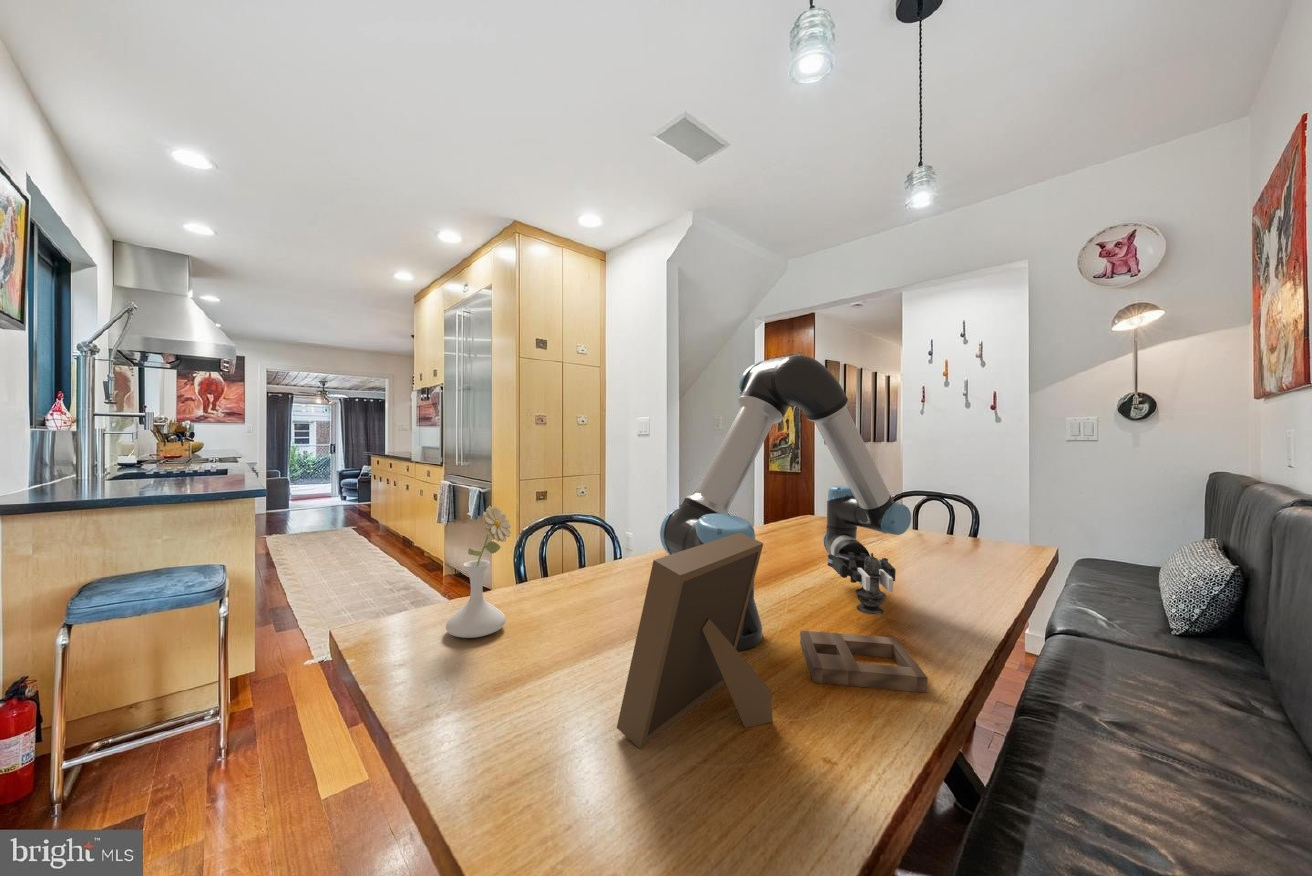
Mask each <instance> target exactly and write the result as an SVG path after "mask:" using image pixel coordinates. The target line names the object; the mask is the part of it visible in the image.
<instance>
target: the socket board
mask: <svg viewBox="0 0 1312 876" xmlns="http://www.w3.org/2000/svg"><path fill="white" fill-rule="evenodd" d="M799 634H800V636H799V637H800V638H799V644H800V647H801V650H802V654H803V656H804V659H805V660H804V661H805V663H806V666H807V668H808V672H809V674H810V677H811V680H812V683H817V684H827V685H837V686H838V685H839V686H847V687H849V686H851V687H860V688H861V687H862V688H872V689H881V690H882V689H883V690H893V691H906V692H913V693H914V692H915V693H926V694H927V693H928V676H927V675H926V674H925V672H924V671H923V669H922V668H920V666H919V665H918V664H917V662H916V661H915V660H914V658H913V657H912V656H911V655H910V653H909V652H908V650H906V648H905V647H904V646H903V644H902V643H901V642H900V641H899V639H898V638H897V637H890V636H879V635H876V636H875V635H865V634H864V635H863V634H851V633H838V632H827V631H826V632H823V631H814V630H813V631H812V630H811V631H810V630H800V633H799ZM854 655H856V656H868V657H881V658H891V659H893V660H894V662H895V663H896V664H897V665H891V664H889V665H888V664H878V663H877V664H876V663H867V662H866V663H865V662H857V661H856V659H855V657H854Z"/></svg>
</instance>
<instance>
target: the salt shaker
mask: <svg viewBox="0 0 1312 876" xmlns="http://www.w3.org/2000/svg"><path fill="white" fill-rule="evenodd" d="M869 554H870V557H867V558H866V559H865V560H864V571H865V572H866V573H867V574H868V575H869V576H870V591H867V590H865V589H864V588H863V587H862V586H861V587H860V588H856V589H855V593H856V597H857V600H858V601H859V603H860V604H858V605H857V606H856V609H857V611H860V613H861V612H862V613H864V614H867V615H875V616H877V615H883V614H885V611H884V609H883V608H882V607H880V606H881V605H883V604H884V602H885V598H886V597H887V594H886V593H885V592H883V591H881V589H880V583H879V578H880V577H881V575H879V559H878V558H877V557H875V556H874V553H873V552H870V553H869Z"/></svg>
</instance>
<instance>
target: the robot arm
mask: <svg viewBox="0 0 1312 876" xmlns="http://www.w3.org/2000/svg"><path fill="white" fill-rule="evenodd" d="M738 388H739V395H740V396H739V397H738V399H737V400H738V401H737V402H738V404H739V410H738V412H737V415H736V417H734V418H735V419H734V420H733V422H732V424H731V426H730V428H729V429H728V431H727V433H726V435H725V436H724V439H723V440H722V442H721V444H720V446H719V447H718V450H717V451H716V454H715V455H714V457H713V459H712V461H711V462H710V465H709V467H708V468H707V470H706V472H705V474H704V475H703V478H702V479H701V482H700V483H699V485H698V487H697V489H696V491H695V493H693V494H690V495H686V496H685V497H684V499H683V501H682V503H681V504H680V507H679V508H677V509H674V510H671V511H670V512H669V513H668V514H667V515H665V517H664V519H663V520H662V522H661V526H660V530H659V535H660V536H659V537H660V542H661V545H662V548H663V549H664V551H665V552H666V553H667V554H668V555H671V554H674V553H677V552H680V551H683V550H687V549H690V548H693V547H696V546H699V545H702V544H705V543H708V542H712V541H715V540H718V539H721V538H724V537H727V536H730V535H733V534H737V533H742V534H744V535H746V536H749V537H751V538H753V539H755V540H756V534H755V528H754V526H753V524H752V523H751V522H749V521H748V520H746V519H745V518H743V517H741V516H740V517H739V516H737V515H730V514H729V510H730V508H731V506H732V504H733V502H734V500H735V499H736V497H737V494H738V492H739V491H740V489H741V486H742V484H743V483H744V481H745V479H746V477H747V475H748V473H749V471H750V469H751V467H752V465H753V464H754V461H755V460H756V457H757V456H758V454H759V451H760V449H761V447H762V446H763V443H764V442H765V440H766V438H767V436H768V434H769V433H770V430H771V429H772V427H773V425H776V424H779V423H781V422H782V421H783V419H784V418H785V415H786V413H787V412H788V409H789V408H790V407H791V408H794V407H796V408H798V409H800V410H801V411H802V412H803V414H804V415H805V417H806V420H808V421H810V422H814V424H815V426H816V428H817V429H818V432H819V433H820V436H821V437H822V439H823V441H824V442H825V445H826V446H827V450H829V452H830V454H831V456H832V457H833V460H834V462H835V463H836V465H837V468H838V469H839V471H840V473H841V476H842V478H844V481H845V482H846V485H832V486H830V487H829V488H828V491H827V493H828V494H827V500H826V529H825V530H826V532H825V533H824V535H823V537H822V538H823V539H822V542H823V547H824V548H825V551H826V552H827V553H828V554H827V566H828V567H830V568H832V569H833V570H834V571H835V572H836V573H837V574H838V575H839V576H840V578H844V579H845V578H846V579H847V578H848V577H849V578H850V581H849V582H850V583H853V584H854V583H857V582H858V584H860V586H861V588H862V587H863V588H864V589H865V590H867V591H870V576H869V575H868V574H867V573H866V572H865V571H864V560H865V559H866V558H867V557H870V556H871V555H870V554H871V553H870V552H869V551H868V549H867V548H866V547H865V546H864V545H863V544H862V543H861V542H860V541H859V540H857V533H858V532H857V530H858V527H859V528H860V527H861V528H864V529H868V530H872V531H876V532H880V533H881V534H882V533H883V534H886V535H887V534H888V535H896V536H901V535H903V534H904V533H906V532H907V530H909V528H910V527H911V526H910V525H911V523H912V513H911V510H910V508H909V507H908V506H907V505H905V504H903V503H900V502H895V501H894V500H893V497H892V496H891V494H890V491H889V489H888V488H887V485H886V483H885V482H884V479H883V478H882V476H881V473H880V472H879V469H878V467H877V465H876V463H875V462H874V460H873V458H872V456H871V453H870V451H869V449H868V447H867V445H866V443H865V441H864V439H863V437H862V436H861V433H860V431H859V430H858V427H857V425H856V424H855V421H854V420H853V418H852V416H851V413H850V412H849V409H848V408H847V407H848V404H849V399H848V397H847V395H846V392H845V391H844V389H843V386H841V384H840V382H839V380H837V378H836V377H835V376H834V375H833V373H832V372H831V371H830V370H829V369H828V368H827V367H826V366H825V365H823V363H821V362H820V361H818V360H816V359H814V358H813V357H811V356H807V355H802V354H795V355H789V356H787V357H786V356H785V357H780V358H775V359H774V358H773V359H765V360H761V361H759V362H757V363H754V364H752V365H751V366H749V367H748V368H746V370H745V371H744V372H743V374H742V375H741V378H740V381H739V387H738ZM878 560H879V575H881V577H880V578H879V585H881V586H882V587H883V588H884V589H885V590H886V591H887V592H888V593H894V589H893V588H894V582H896V574H897V573H896V568H894V566H893V565H892V564H891V563H890V562H889V559H888V558H886V557H883V558H879V559H878ZM760 618H761V617H760V615H759V611H758V608H757V605H756V601H755V581H754V582H753V586H752V589H751V593H750V597H749V601H748V605H747V608H746V612H745V616H744V620H743V624H742V627H741V631H740V635H739V639H738V643H737V647H736V650H737V651H738V652H739V651H745V650H749V649H752V648H755V647H757V646H758V645H759V644H761V642H762V640H763V624H762V621H761V619H760Z"/></svg>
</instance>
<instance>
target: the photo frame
mask: <svg viewBox="0 0 1312 876" xmlns="http://www.w3.org/2000/svg"><path fill="white" fill-rule="evenodd" d="M763 548H764V542H761V541H759V540H757V539H756V538H755V539H753V538H751V537H749V536H746V535H744V534H742V533H737V534H733V535H730V536H727V537H724V538H721V539H718V540H715V541H712V542H708V543H705V544H702V545H699V546H696V547H693V548H690V549H687V550H683V551H680V552H677V553H674V554H671V555H669V554H668V555H665V556H662V557H659V558H656V559H653V561H652V566H651V571H650V575H649V579H648V580H649V581H648V584H647V588H646V593H645V597H644V601H643V607H642V612H641V616H640V619H639V624H638V629H637V634H636V639H635V642H634V648H633V651H632V652H633V653H632V655H631V656H632V657H631V661H630V665H629V670H628V673H627V674H628V675H627V679H626V685H625V689H624V693H623V696H622V697H623V698H622V702H621V707H620V712H619V715H618V720H617V725H616V729H617V730H618V731H619V732H620V733H622V734H623V735H624V736H625V737H626V738H627V739H628V740H630V742H632V743H633V744H634V745H635V746H636V747H637V748H638V749H640V750H641V749H643V748H644V747H645V746H646V745H648V744H649V743H650V742H651V741H653V740H654V739H655V738H657V737H658V736H659V735H660V734H663V732H664V731H666V730H667V729H668V728H669V727H670V726H672V725H673V724H675V723H676V722H677V721H678V720H680V719H681V718H683V717H684V716H685V715H686V714H688V713H689V712H690V711H692V710H693V709H694V708H695V707H697V706H698V705H699V704H701V703H702V702H703V701H705V700H706V699H707V698H708V697H710V696H711V695H713V694H714V692H716V691H718V690H719V689H721V687H723V686H724V685H725V687H726V688H727V691H728V693H729V696H730V698H731V701H732V702H733V705H734V708H735V710H736V712H737V714H738V716H739V719H740V721H741V724H742V726H743V727H744V728H745V729H747V728H752V727H756V726H760V725H764V724H770V723H773V722H774V721H773V720H774V719H773V705H772V693H771V692H772V691H771V690H772V689H771V688H770V687H769V686H768V685H767V684H766V682H764V680H763V679H762V678H761V677H760V676H759V674H757V672H756V671H755V670H754V669H753V667H752V666H751V665H750V664H749V663H748V662H747V661H746V660H745V659H744V657H743V656H742V655H741V654H740V652H739V651H737V650H736V647H737V643H738V639H739V635H740V631H741V627H742V624H743V620H744V616H745V612H746V608H747V605H748V601H749V597H750V593H751V589H752V586H753V582H754V583H755V577H756V574H757V570H758V567H759V562H760V559H761V554H762V550H763Z"/></svg>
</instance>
